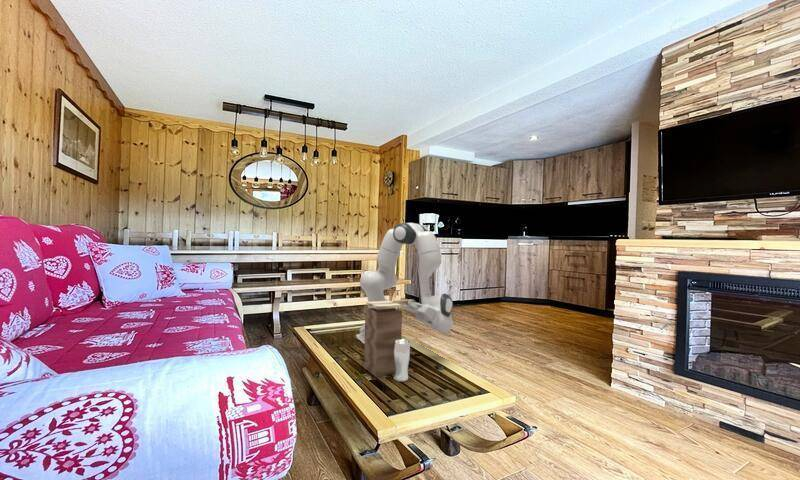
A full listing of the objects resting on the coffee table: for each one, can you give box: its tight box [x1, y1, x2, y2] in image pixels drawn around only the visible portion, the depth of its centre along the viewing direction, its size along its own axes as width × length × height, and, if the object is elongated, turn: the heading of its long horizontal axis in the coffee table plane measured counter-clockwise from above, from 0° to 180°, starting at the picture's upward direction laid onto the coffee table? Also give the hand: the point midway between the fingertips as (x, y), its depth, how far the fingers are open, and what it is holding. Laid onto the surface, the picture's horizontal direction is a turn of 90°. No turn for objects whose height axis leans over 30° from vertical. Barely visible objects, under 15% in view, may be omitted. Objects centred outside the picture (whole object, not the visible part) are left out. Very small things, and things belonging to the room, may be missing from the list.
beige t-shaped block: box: [365, 298, 416, 310], centre depth 150 cm, size 11×21×2 cm, turn 122°
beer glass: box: [393, 338, 411, 383], centre depth 138 cm, size 7×7×15 cm
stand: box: [363, 307, 403, 378], centre depth 147 cm, size 11×12×26 cm
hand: (405, 300), depth 153 cm, fingers closed on beige t-shaped block, 3 cm apart
